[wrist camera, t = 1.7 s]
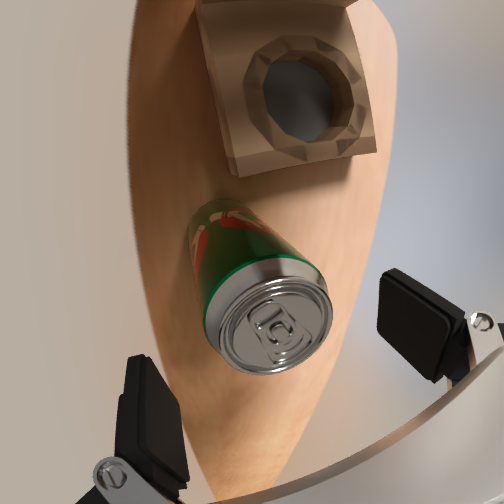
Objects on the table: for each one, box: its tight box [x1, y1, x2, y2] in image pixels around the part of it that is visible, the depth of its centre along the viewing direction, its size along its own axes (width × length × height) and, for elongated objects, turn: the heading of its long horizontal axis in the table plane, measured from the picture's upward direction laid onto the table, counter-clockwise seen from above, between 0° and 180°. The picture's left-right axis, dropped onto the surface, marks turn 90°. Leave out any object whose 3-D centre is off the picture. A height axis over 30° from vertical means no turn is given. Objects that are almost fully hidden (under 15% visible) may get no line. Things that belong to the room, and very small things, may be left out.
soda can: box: [188, 199, 333, 375], centre depth 15 cm, size 5×5×12 cm
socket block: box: [195, 0, 377, 178], centre depth 11 cm, size 14×10×12 cm
